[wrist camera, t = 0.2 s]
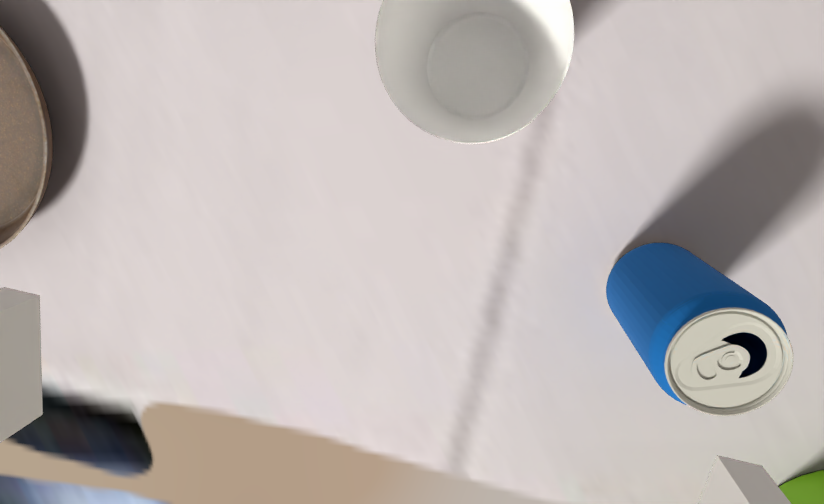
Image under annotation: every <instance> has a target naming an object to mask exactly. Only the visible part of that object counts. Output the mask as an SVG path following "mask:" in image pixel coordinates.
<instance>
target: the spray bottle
mask: <svg viewBox="0 0 824 504" xmlns="http://www.w3.org/2000/svg"><path fill="white" fill-rule="evenodd" d="M779 488H780V490H781V491H782V492H783V493H784V495H785V496H786V497H787V499H788V500H789V501H790V502H791V504H824V470H821V471H816V472H812V473H809V474H805V475H802V476H799V477H797V478H795V479H792V480H790V481H788V482H786V483H784V484H782V485H781V486H779Z"/></svg>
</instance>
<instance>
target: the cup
mask: <svg viewBox="0 0 824 504" xmlns="http://www.w3.org/2000/svg"><path fill="white" fill-rule="evenodd" d="M573 45H574V20H573V12H572V8H571V4H570V0H383V2H382V5H381V8H380V11H379V15H378V19H377V25H376V32H375V52H376V60H377V65H378V70H379V73H380V76H381V79H382V82H383V84H384V87H385V89H386V91H387V93H388V95H389V96H390V98H391V100H392V101H393V103H394V104H395V106H396V107H397V108H398V109H399V110H400V112H401V113H402V114H403V115H404V116H405V117H406V118H407V119H408V120H409V121H411V122H412V123H413V124H414V125H416V126H417V127H419V128H420V129H422V130H423V131H425V132H427V133H429V134H431V135H433V136H436V137H438V138H441V139H444V140H447V141H451V142H455V143H462V144H481V143H488V142H493V141H497V140H500V139H503V138H505V137H508V136H510V135H512V134H514V133H516V132H518V131H519V130H521V129H522V128H524V127H525V126H527V125H528V124H529V123H531V122H532V121H533V120H534V119H535V118H536V117H537V116H538V115H539V114H540V113H541V112H542V111H543V110H544V109H545V108H546V107H547V105H548V104H549V103H550V102H551V100H552V99H553V98H554V96H555V95H556V93H557V92H558V90H559V88H560V86H561V84H562V82H563V80H564V78H565V76H566V73H567V70H568V67H569V65H570V61H571V57H572V51H573Z"/></svg>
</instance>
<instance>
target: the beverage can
mask: <svg viewBox="0 0 824 504" xmlns="http://www.w3.org/2000/svg"><path fill="white" fill-rule="evenodd" d="M606 294H607V300H608V304H609V306H610V309H611V310H612V312H613V314H614V315H615V317H616V318H617V320H618V321H619V323H620V325H621V326H622V328H623V329H624V331H625V333H626V334H627V336H628V337H629V339H630V341H631V342H632V344H633V345H634V347H635V348H636V350H637V352H638V353H639V355H640V356H641V358H642V360H643V361H644V363H645V364H646V366H647V367H648V369H649V371H650V372H651V374H652V375H653V377H654V379H655V380H656V382H657V383H658V384H659V386H660V387H661V388H662V389H663V390H664V391H665V392H666V393H667V394H668V395H670V396H671V397H672V398H674V399H675V400H677V401H679V402H681V403H683V404H685V405H688V406H689V407H691V408H693V409H695V410H697V411H700V412H702V413H706V414H710V415H716V416H733V415H739V414H744V413H747V412H751V411H753V410H755V409H758V408H760V407H761V406H763V405H765V404H766V403H768V402H769V401H771V400H772V399H773V398H774V397H775V396H776V395H778V393H779V392H780V391H781V390H782V389H783V387H784V386H785V384H786V383H787V381H788V379H789V377H790V374H791V371H792V367H793V350H792V346H791V343H790V340H789V338H788V337H787V333H786V330H785V327H784V325H783V323H782V321H781V320H780V318H779V317H778V315H777V314H776V313H775V312H774V311H773V310H772V309H771V308H770V307H769V306H768V305H767V304H765V303H764V302H763V301H761V300H760V299H758V298H757V297H755V296H754V295H752V294H751V293H749V292H748V291H746V290H745V289H743V288H742V287H740V286H739V285H738V284H736V283H735V282H733V281H732V280H730V279H729V278H727V277H726V276H724V275H723V274H721V273H720V272H718V271H717V270H715V269H714V268H713V267H711V266H710V265H708V264H707V263H705V262H704V261H702V260H701V259H699V258H698V257H696V256H695V255H693V254H692V253H690V252H689V251H688V250H686V249H684V248H682V247H680V246H677V245H673V244H669V243H651V244H646V245H642V246H639V247H637V248H635V249H633V250H631V251H629V252H628V253H626V254H625V255H624V256H623V257H622V258H620V259H619V261H618V262H617V263H616V264H615V266H614V267H613V269H612V270H611V272H610V275H609V277H608V281H607V286H606Z"/></svg>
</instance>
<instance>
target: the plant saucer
mask: <svg viewBox="0 0 824 504" xmlns="http://www.w3.org/2000/svg"><path fill="white" fill-rule="evenodd" d="M52 154H53V144H52V130H51V123H50V118H49V113H48V109H47V106H46V102H45V99H44V96H43V94H42V91H41V88H40V86H39V84H38V81H37V79H36V77H35V75H34V73H33V71H32V69H31V68H30V66H29V64H28V62H27V61H26V59H25V58H24V56H23V54H22V53H21V51H20V50H19V49H18V47H17V46H16V44H15V43H14V42H13V40H12V39H11V38H10V37H9V35H8V34H7V33H6V32H5V31H4V30H3V29H2V27H1V26H0V249H1V248H2V247H4V246H5V245H7V244H8V243H9V242H11V241H12V240H13V239H14V238H15V237H16V236H17V235H18V234H19V233H20V232H21V231H22V230H23V228H24V227H25V226H26V225H27V224H28V222H29V221H30V219H31V218H32V217H33V215H34V214H35V212H36V210H37V208H38V207H39V205H40V203H41V201H42V199H43V196H44V194H45V191H46V188H47V184H48V181H49V176H50V172H51V165H52Z"/></svg>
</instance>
